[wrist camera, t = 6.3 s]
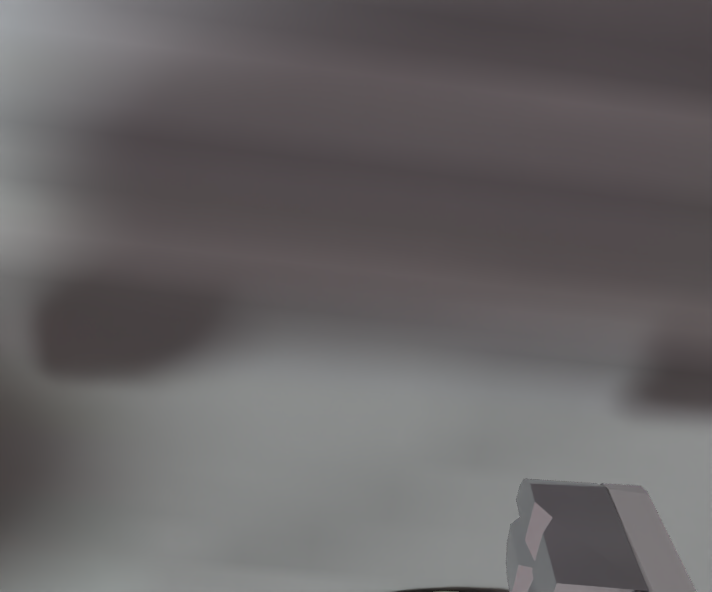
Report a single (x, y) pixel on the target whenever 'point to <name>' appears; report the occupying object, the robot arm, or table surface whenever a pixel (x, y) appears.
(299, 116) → the table surface
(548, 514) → the robot arm
